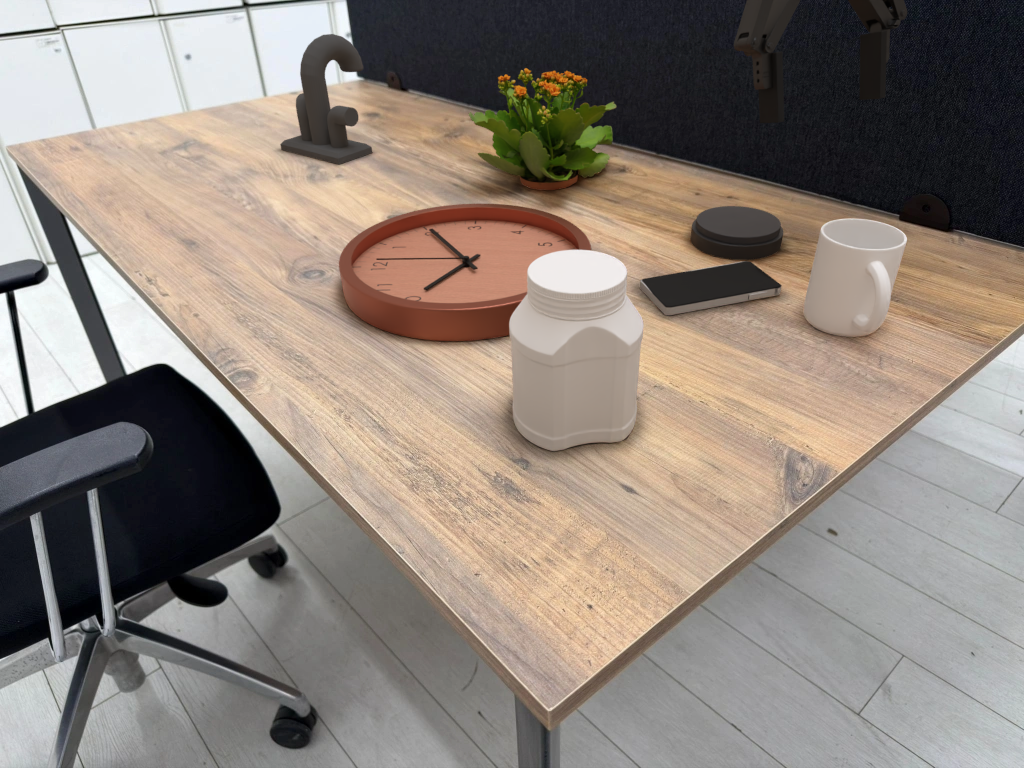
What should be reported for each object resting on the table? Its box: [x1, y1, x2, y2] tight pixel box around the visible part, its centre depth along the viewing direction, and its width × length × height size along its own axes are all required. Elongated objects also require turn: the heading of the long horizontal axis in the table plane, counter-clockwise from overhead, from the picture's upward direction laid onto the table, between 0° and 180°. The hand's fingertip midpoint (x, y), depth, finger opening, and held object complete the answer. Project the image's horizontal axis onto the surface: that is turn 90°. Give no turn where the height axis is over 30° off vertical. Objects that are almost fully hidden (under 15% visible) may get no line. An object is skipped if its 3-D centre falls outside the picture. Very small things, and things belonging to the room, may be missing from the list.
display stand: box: [689, 205, 784, 261], centre depth 98 cm, size 12×12×3 cm
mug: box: [802, 217, 908, 338], centre depth 76 cm, size 12×8×10 cm
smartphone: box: [639, 260, 783, 316], centre depth 87 cm, size 8×1×15 cm
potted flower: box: [468, 67, 617, 191], centre depth 116 cm, size 25×24×18 cm
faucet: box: [279, 33, 373, 165], centre depth 136 cm, size 18×16×20 cm
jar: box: [509, 250, 645, 452], centre depth 64 cm, size 12×10×15 cm
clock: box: [338, 203, 592, 342], centre depth 91 cm, size 31×4×31 cm
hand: (823, 110), depth 76 cm, fingers open, 13 cm apart
